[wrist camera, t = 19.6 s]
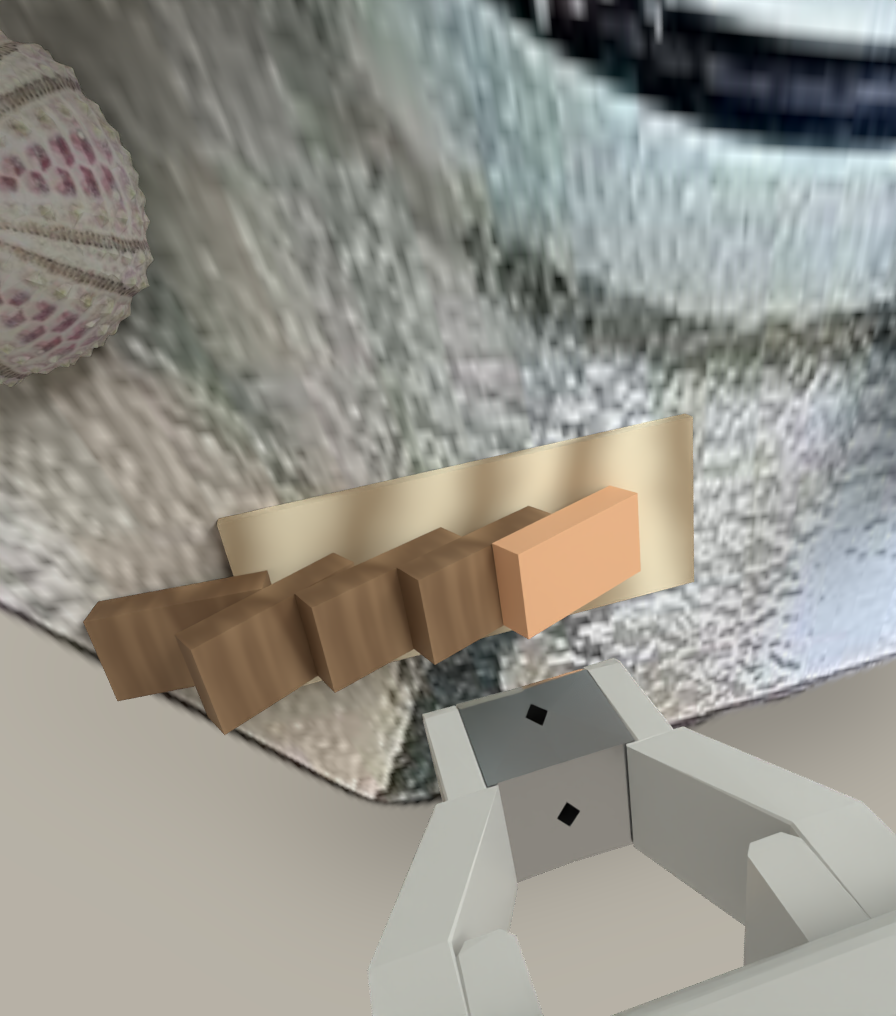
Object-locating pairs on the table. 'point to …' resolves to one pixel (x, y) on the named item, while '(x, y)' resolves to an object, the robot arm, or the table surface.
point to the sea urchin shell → (61, 218)
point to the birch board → (491, 507)
